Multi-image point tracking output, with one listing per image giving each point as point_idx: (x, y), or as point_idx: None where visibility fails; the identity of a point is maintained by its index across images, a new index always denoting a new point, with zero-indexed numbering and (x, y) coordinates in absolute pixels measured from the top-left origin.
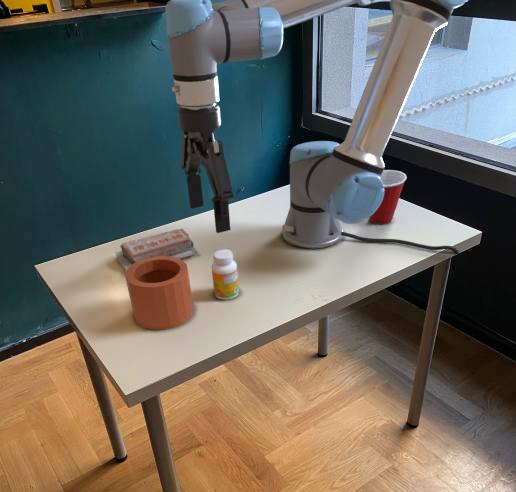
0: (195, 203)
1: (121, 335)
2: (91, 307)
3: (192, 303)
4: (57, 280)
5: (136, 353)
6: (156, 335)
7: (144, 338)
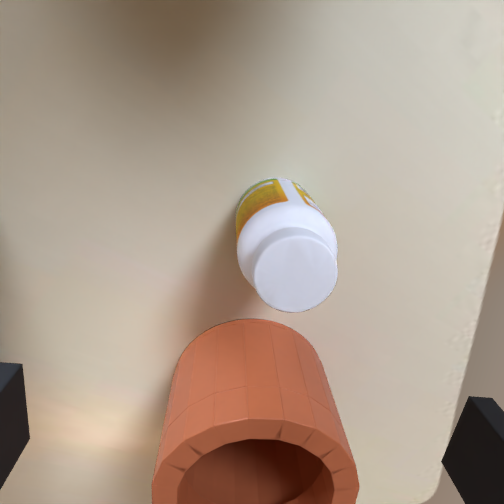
0: (11, 440)
1: None
2: (124, 486)
3: (295, 342)
4: None
5: None
6: None
7: None
